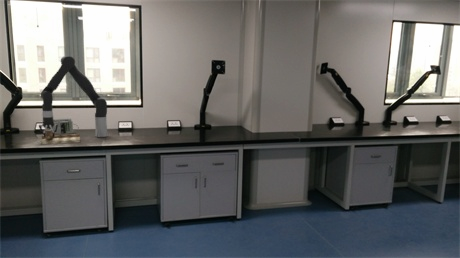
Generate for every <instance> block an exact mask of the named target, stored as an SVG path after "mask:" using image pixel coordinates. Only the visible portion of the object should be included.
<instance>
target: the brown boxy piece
mask: <svg viewBox="0 0 460 258" xmlns="http://www.w3.org/2000/svg"><path fill="white" fill-rule="evenodd" d="M52 133H53V132H52V130H48V129H46V131H45V138H46V139H53V134H52Z"/></svg>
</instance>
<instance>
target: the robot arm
mask: <svg viewBox="0 0 460 258" xmlns="http://www.w3.org/2000/svg"><path fill="white" fill-rule="evenodd" d="M60 63H61V66H60V67H59V68H58V70H57V71H56V73H55V74H54V75H53V76H52V77H51V79H50V80H49V82H48V83H47V85H46V86H45V87H44V88H43V90H42V91H41V93H40V97H41V99H42V105H41V107H42V108H41V109H42V114H41V116H42V123H41V124H39V125H38V129H39V131H40V133H43V136H44V137H45V131H46V130H48V129H51V130H52V132H53V133H52V134H53V137H54V136H55V134H54V133H55V132H57V127H58V124H54V121H53V119H54V111H53V100H54V99H53V98H54V97H53V92H54V91H56V90H57V89H58V87H59V86H60V84H61V82H63V81H62V80H63V79H64V77H66V75H67V74H68V73H69V74H70V75H71V77H72V79H73V80H74V81H75V83H76V84H77V85H78V86H79V87H80V89H81V91H83V93H85V94H86V96H88V98H89V101H91V103H92V104H93V106H94V108H95V113H94V122H95V123H94V124H95V125H94V126H95V137H96V138H104V137H106V138H107V137H108V124H107V123H108V120H107V114H108V103H107V102H108V101H106V99H105V98H102V97H101V96H100V95H99V94H98V92H97V91H96V89H95V87H94V85H93V84H92V82H91V81H90V79H89V78H88V77H87V75H85V74H84V73H83V72H82V71H81V70H80V69H79V68H78V67H77V66H76V60H75V58H74V57H73V56H71V55H64V56H62V57H61V59H60ZM54 125H55V127H56V129H55V130H53V126H54ZM43 128H44V129H43Z"/></svg>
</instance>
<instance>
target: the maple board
mask: <svg viewBox="0 0 460 258" xmlns="http://www.w3.org/2000/svg"><path fill="white" fill-rule="evenodd" d="M58 143H59V144H71V143H72V144H73V143H81V136H80V133H76V134H75V133H72V134H61V135H55V136H54V137H53V139H46V138H45V137H44V135H42V136H41V141H40V145H55V144H56V145H57V144H58Z"/></svg>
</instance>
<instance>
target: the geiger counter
mask: <svg viewBox="0 0 460 258" xmlns="http://www.w3.org/2000/svg"><path fill="white" fill-rule="evenodd" d="M72 120H73V119H72V117H67V118H53V121H54V124H58V127H57V132H55V133H54V134H55V135H69V134H74V132H75V131H77V130H79V126H78V125H77V124H76V123H73V121H72ZM74 125H75V126H76V127H77V129H75V128H74ZM55 129H56V127H55V125H54V126H53V130H55ZM47 130H51V129H47Z"/></svg>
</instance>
